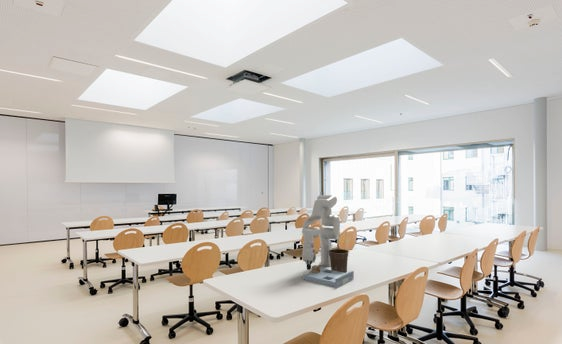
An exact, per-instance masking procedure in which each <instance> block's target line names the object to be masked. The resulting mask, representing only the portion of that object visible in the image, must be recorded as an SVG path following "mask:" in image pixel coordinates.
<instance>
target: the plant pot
mask: <svg viewBox="0 0 562 344" xmlns="http://www.w3.org/2000/svg"><path fill="white" fill-rule="evenodd" d="M328 252H329V256H330V262H331V266H330V270H333V271H338V272H343V273H348V260H349V259H348V257H349V253H350V251H349V250H348V249H343V248H342V249H341V248H335V249H334V248H333V249H332V250H329V251H328Z"/></svg>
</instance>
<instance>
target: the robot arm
mask: <svg viewBox="0 0 562 344" xmlns="http://www.w3.org/2000/svg"><path fill="white" fill-rule="evenodd" d="M337 203H338V198H337V196H336V195H333V194H320V195H317V198H316V199H315V201H314V203H313V207H312V211H311V215H310V216H308V217H307V218H306V220H305V221H304V222H303V225H302V228H301V230H302V231H301V235H302V236H303V247H302V253H301V255H302V256H301V257H302V261H303V262H304V263H305V265H306V270H307V271H308V270H309V271H310V270H312V264H314V263H316V258H317V257H316V250H315V249H316V248H315V246H316V245H315V243H314V238H319V240H320V241H319V242H320V261H319V263H318V264H319V265H318V266H320V267H321V266H322V267H331V262H330V256H329V252H328V251H329V250H332V248H333V247H332V246H333V244H332V241H331V240H335V241H336V240H339V238H340V233H341V231H340V230H341V229H340V228H341V220H340V217H339V216H338V215H335V214H334V215H332V208H334V206H336V204H337ZM319 220H321V225H322V226H324V227H321V228H318V227H310V225H311V224H313V223H314V222H316V221H319Z"/></svg>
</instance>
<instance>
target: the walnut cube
mask: <svg viewBox="0 0 562 344" xmlns="http://www.w3.org/2000/svg"><path fill="white" fill-rule="evenodd" d="M320 269H321V265H318V264H317V265H316V264H314V265H311V272H312V273H319V272H320Z"/></svg>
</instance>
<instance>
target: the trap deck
mask: <svg viewBox="0 0 562 344" xmlns="http://www.w3.org/2000/svg"><path fill="white" fill-rule="evenodd" d="M354 273H355V272H354V270H351V271H349V272H348V271H347V272H346V273H343V272H338V271H333V270H331V269H328V268H321V267H320V272H319V273H312V271H310V272H308V273H306V274H303V280H304V279H305V280H304V281H308V280H309V282H314V283H318V284H322V285H326V286H329V287H330V286H331V287H335V288H338V287H341V286H343V285H345V284H346V283H348V282H349V281H352V280H354V279H355V278H354V275H355V274H354Z"/></svg>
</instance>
